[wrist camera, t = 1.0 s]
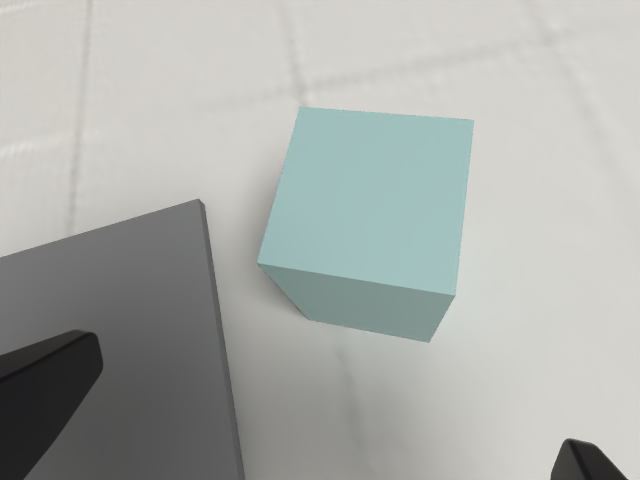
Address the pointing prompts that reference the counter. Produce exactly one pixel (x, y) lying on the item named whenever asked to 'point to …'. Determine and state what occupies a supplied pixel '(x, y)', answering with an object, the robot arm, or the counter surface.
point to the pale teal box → (370, 219)
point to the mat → (133, 347)
